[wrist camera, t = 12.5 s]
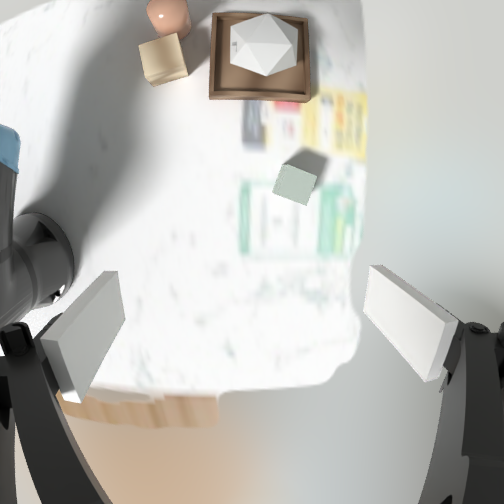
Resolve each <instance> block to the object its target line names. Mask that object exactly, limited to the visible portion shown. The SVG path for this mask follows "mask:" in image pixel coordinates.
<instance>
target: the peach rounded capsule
mask: <svg viewBox="0 0 504 504" xmlns="http://www.w3.org/2000/svg"><path fill="white" fill-rule="evenodd" d="M146 12H147V15H148V17H149V19H150V20H151V22H152V24H153V26H154V28H155V30H156V32H157V34H158V36H159V37H160V38H161V37H164V36H167V35H171V34H174V33H177V35H178V38H179V40H181V39H183V38H184V37H186V36H187V35H188V34H189V32H190V30H191V20H190V15H189V11H188V6H187V1H186V0H150V2H149V3H148V5H147V8H146Z"/></svg>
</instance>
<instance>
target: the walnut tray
mask: <svg viewBox="0 0 504 504" xmlns="http://www.w3.org/2000/svg"><path fill="white" fill-rule="evenodd" d="M260 15H263V14H257V13H213V15H212V31H211V51H210V76H209V99H210V100H267V101H285V102H298V103H307V102H308V101H309V100H311V96H310V56H309V33H308V19H307V18H300V17H292V16H283V15H273V16H275V17H277V18H279V19H280V20H282V21H284V22H286V23H288V24H289V25H291V26H293V27H295V28H296V29H298V40H297V62H296V66H294V67H291V68H288V69H285V70H282V71H279V72H277V73H274V74H271V75H268V76H264V75H261V74H259V73H256V72H253V71H251V70H248V69H245V68H242V67H240V66H237V65H234V64H231V63H230V35H231V26H233V25H235V24H238V23H240V22H243V21H246V20H249V19H252V18H254V17H257V16H260ZM271 15H272V14H271Z"/></svg>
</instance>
